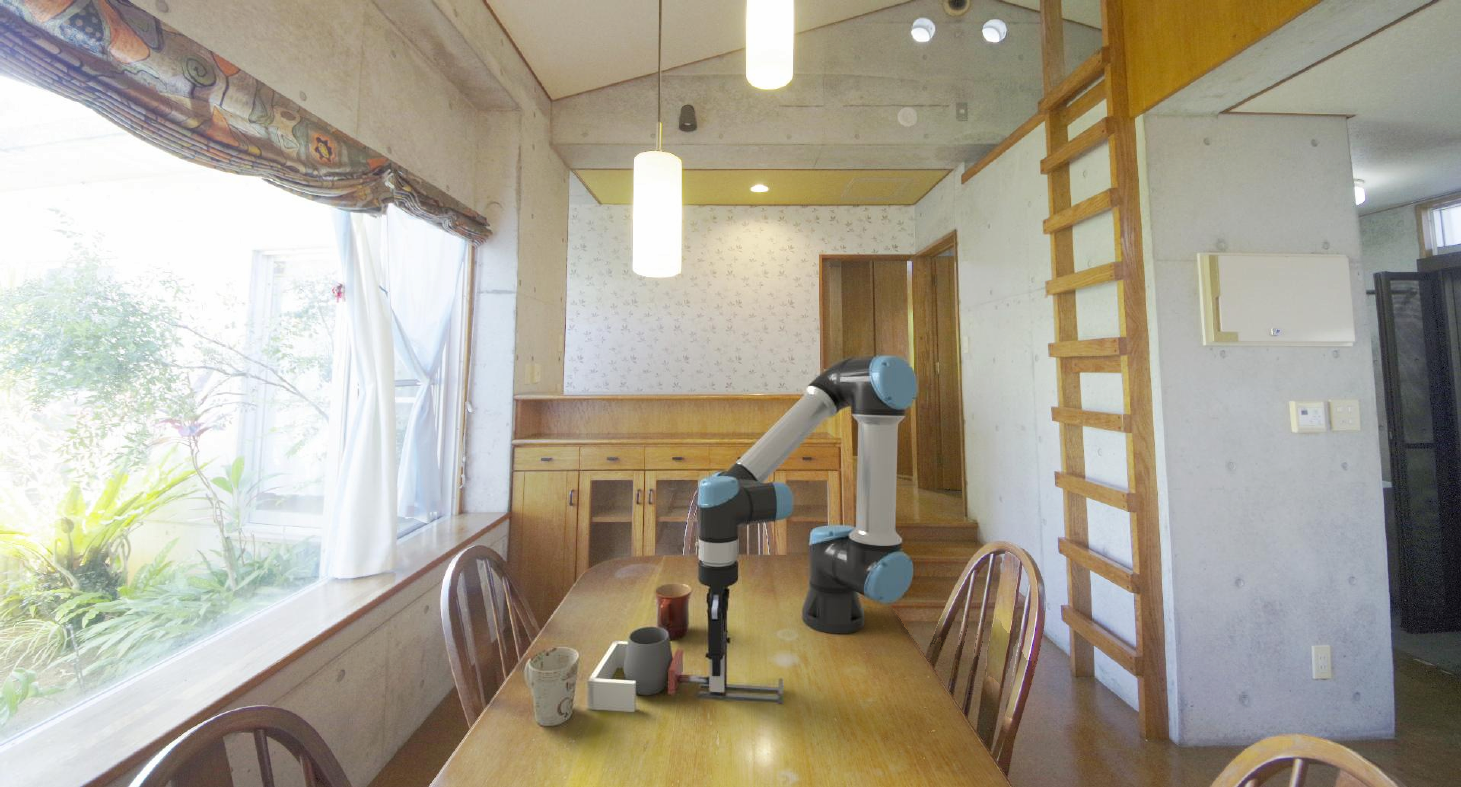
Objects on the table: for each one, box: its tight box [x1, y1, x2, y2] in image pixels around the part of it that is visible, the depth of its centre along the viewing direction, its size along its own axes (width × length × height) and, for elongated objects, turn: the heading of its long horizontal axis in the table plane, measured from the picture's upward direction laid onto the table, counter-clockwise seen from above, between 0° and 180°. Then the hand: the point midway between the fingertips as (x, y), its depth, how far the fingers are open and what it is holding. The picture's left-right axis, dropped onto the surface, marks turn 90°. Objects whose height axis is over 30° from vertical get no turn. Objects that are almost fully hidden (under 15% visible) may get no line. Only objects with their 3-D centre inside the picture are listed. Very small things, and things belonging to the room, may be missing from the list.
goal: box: [587, 640, 637, 713], centre depth 101 cm, size 8×15×5 cm, turn 174°
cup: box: [622, 626, 674, 696], centre depth 101 cm, size 10×9×10 cm
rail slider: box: [667, 631, 728, 695], centre depth 99 cm, size 10×8×10 cm
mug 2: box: [653, 582, 693, 640], centre depth 121 cm, size 12×9×10 cm
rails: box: [697, 678, 784, 706], centre depth 99 cm, size 16×5×2 cm, turn 85°
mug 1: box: [524, 646, 580, 727], centre depth 93 cm, size 8×13×10 cm, turn 58°
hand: (718, 684), depth 99 cm, fingers closed on rail slider, 3 cm apart
